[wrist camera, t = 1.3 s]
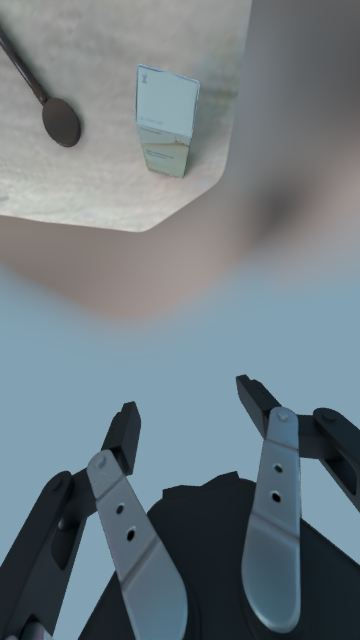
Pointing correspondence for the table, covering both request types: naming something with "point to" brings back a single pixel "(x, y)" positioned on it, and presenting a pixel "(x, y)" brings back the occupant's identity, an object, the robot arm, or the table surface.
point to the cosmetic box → (165, 118)
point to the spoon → (47, 103)
